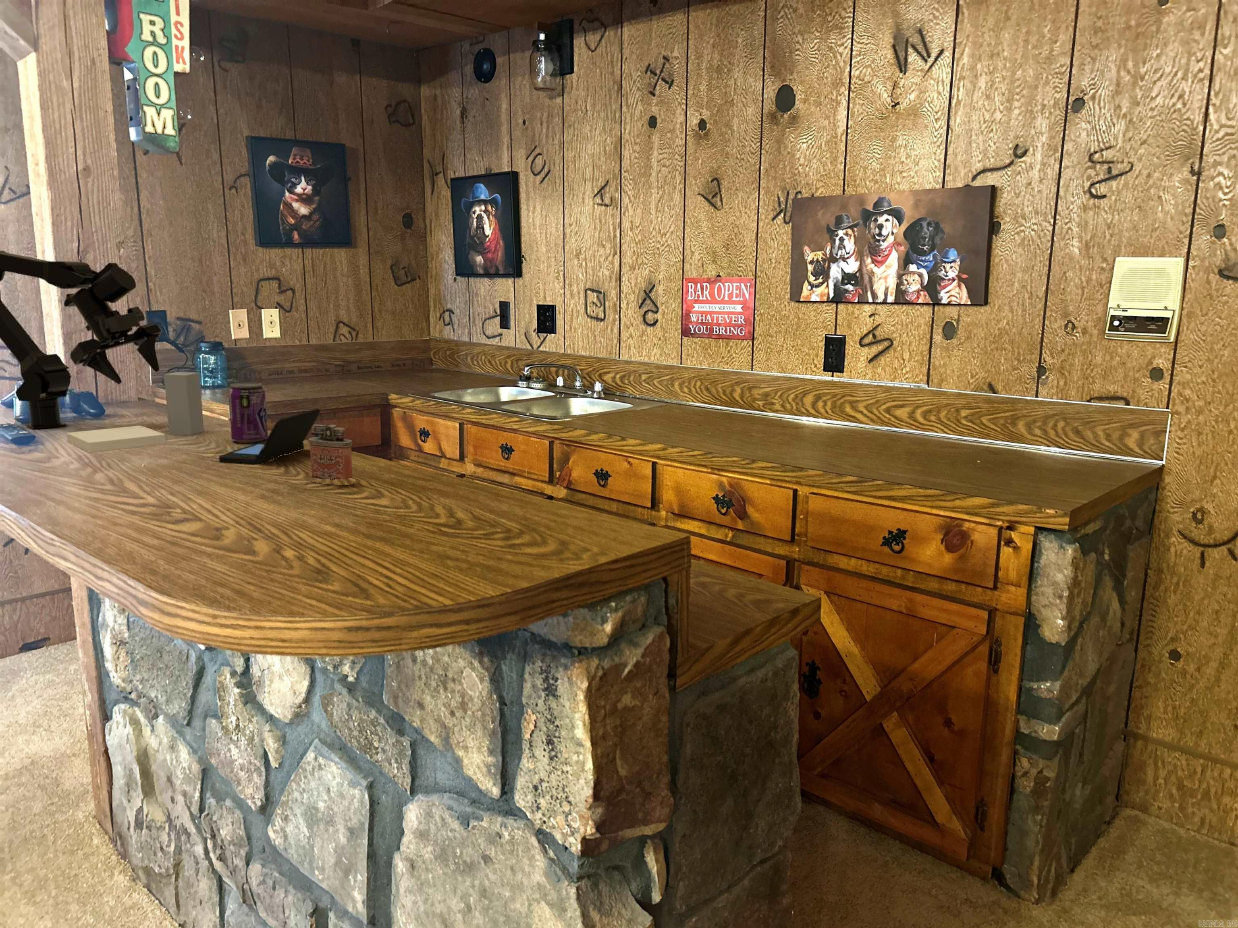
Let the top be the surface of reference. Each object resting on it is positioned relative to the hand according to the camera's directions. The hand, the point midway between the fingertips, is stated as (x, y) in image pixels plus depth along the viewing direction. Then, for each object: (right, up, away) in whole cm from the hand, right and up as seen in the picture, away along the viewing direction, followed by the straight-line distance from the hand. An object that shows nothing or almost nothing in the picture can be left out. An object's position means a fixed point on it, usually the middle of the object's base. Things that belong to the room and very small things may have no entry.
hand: (139, 377), depth 193 cm
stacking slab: (+1, -15, -10) cm, 18 cm away
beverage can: (+26, -14, -6) cm, 30 cm away
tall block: (+9, -12, +2) cm, 15 cm away
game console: (+37, -18, -20) cm, 45 cm away
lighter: (+55, -22, -40) cm, 71 cm away
